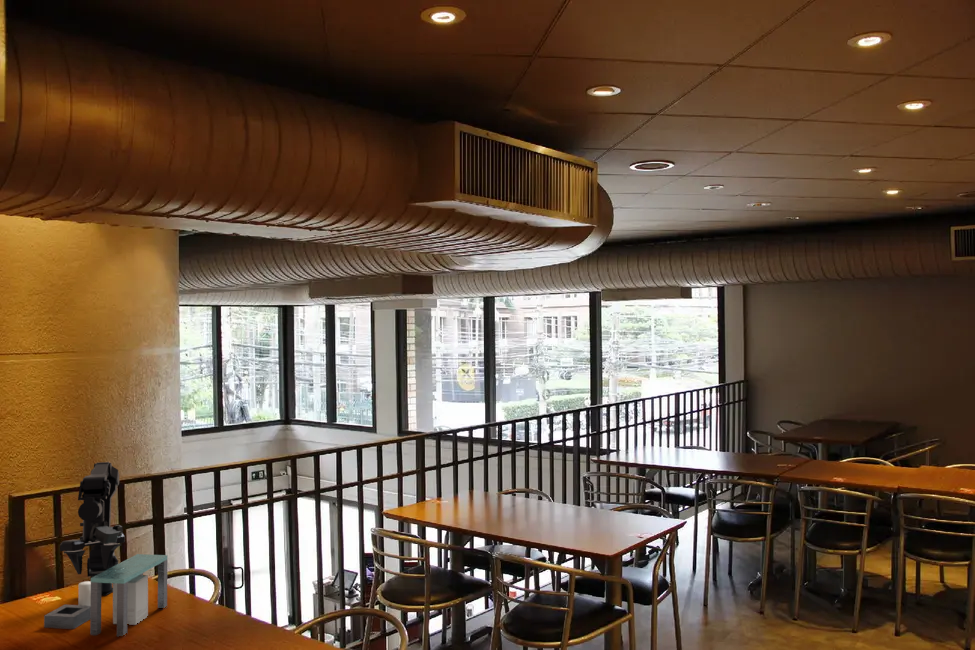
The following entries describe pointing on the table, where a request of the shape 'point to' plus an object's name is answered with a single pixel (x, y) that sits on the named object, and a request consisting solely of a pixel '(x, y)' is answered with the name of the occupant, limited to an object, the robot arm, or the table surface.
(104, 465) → the robot arm
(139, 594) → the supplement box
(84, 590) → the peg
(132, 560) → the miniature teal stool
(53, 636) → the table surface
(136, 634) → the table surface
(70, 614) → the socket
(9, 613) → the table surface
